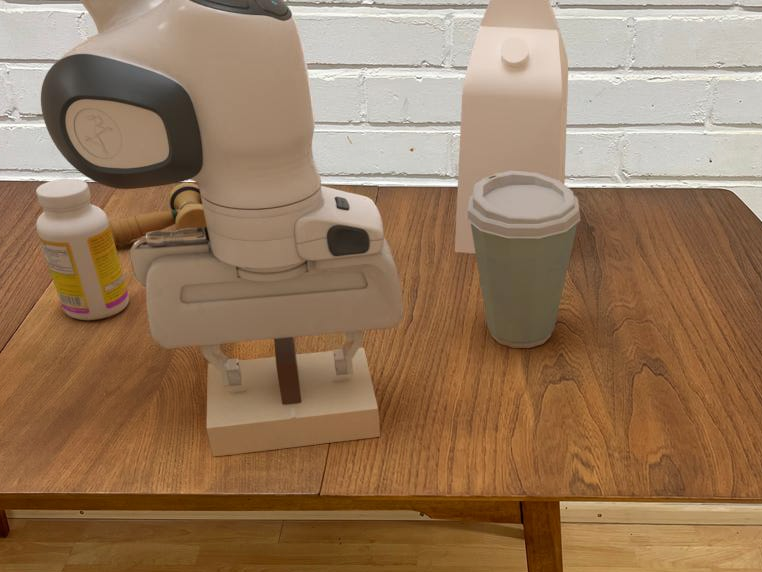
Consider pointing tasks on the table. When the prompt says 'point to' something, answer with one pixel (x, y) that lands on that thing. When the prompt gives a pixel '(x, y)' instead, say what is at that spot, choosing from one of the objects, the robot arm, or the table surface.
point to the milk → (512, 101)
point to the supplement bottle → (80, 251)
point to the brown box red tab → (287, 370)
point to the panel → (291, 406)
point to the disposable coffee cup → (522, 252)
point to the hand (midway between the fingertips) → (289, 376)
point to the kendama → (164, 216)
